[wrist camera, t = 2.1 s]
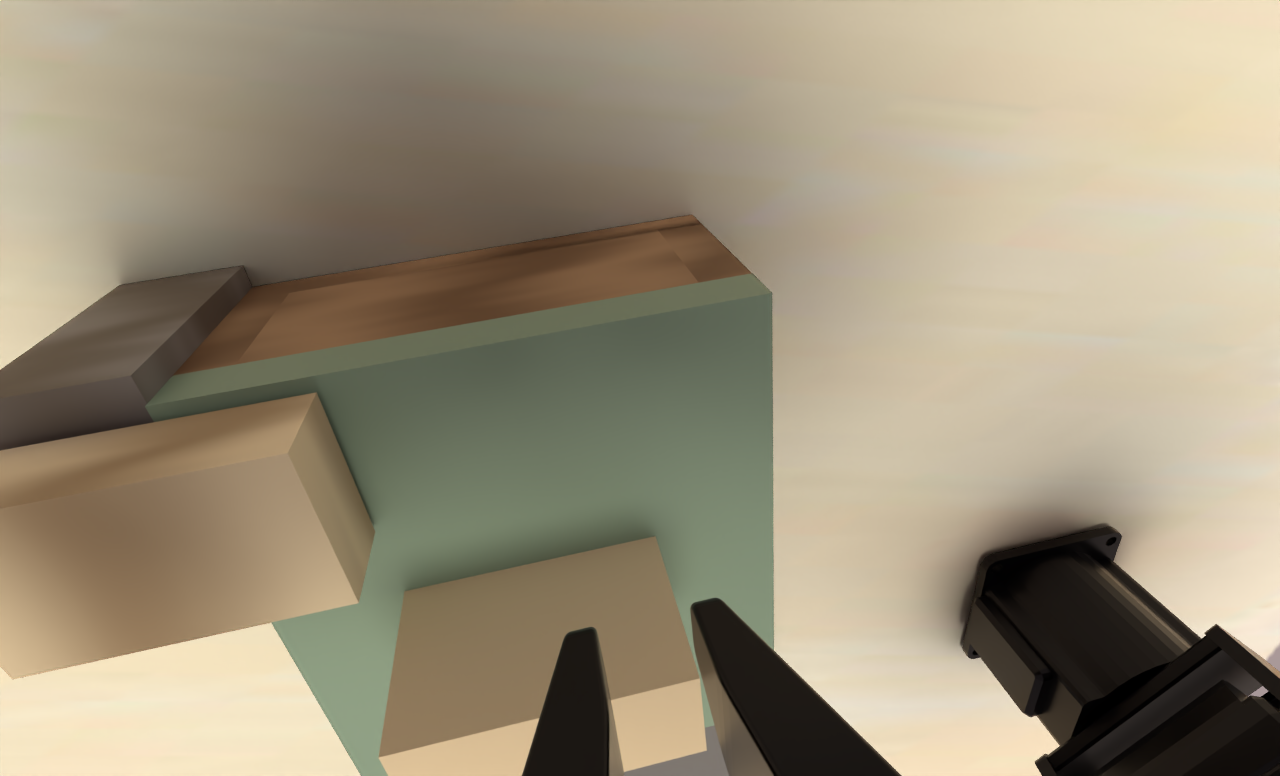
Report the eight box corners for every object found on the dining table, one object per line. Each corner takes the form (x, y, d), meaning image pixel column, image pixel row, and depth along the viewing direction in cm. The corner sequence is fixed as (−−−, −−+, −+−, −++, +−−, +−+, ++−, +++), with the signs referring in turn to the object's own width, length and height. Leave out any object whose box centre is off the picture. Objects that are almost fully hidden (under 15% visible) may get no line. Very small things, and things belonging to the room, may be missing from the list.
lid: (752, 273, 14) (869, 388, 10) (760, 677, 21) (830, 849, 17) (172, 375, 13) (4, 561, 8) (387, 770, 20) (356, 984, 16)
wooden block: (316, 392, 12) (287, 453, 10) (375, 531, 14) (358, 603, 12) (-35, 456, 12) (-126, 533, 10) (74, 594, 13) (12, 679, 12)
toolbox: (690, 193, 18) (769, 263, 13) (716, 567, 26) (772, 707, 20) (119, 285, 17) (-53, 407, 11) (323, 656, 24) (275, 833, 19)
